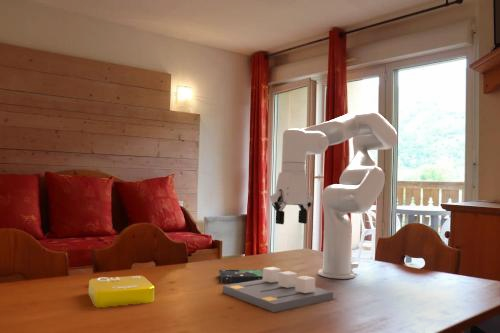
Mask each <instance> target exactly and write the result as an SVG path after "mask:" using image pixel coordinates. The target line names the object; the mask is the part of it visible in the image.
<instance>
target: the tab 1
mask: <svg viewBox="0 0 500 333" xmlns="http://www.w3.org/2000/svg"><path fill="white" fill-rule="evenodd" d="M262 270H263V280H264V281H267V282H270V283H271V282H277V281H278V278H279V272H282V268H280V267H279V268H278V267H276V266H271V267H263V268H262Z"/></svg>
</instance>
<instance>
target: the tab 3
mask: <svg viewBox="0 0 500 333" xmlns="http://www.w3.org/2000/svg"><path fill="white" fill-rule="evenodd" d="M315 287H316V277H313V276H309V275H302V276H297V277H296V285H295V290H296V291H299V292H302V293H309V292H314V291H315Z"/></svg>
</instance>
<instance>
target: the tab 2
mask: <svg viewBox="0 0 500 333" xmlns="http://www.w3.org/2000/svg"><path fill="white" fill-rule="evenodd" d="M296 277H298V273H297V272H294V271H291V270H287V271H281V272H279V278H278V285H280V286H283V287H286V288H288V287H294V286H295V285H296Z"/></svg>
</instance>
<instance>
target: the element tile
mask: <svg viewBox="0 0 500 333" xmlns="http://www.w3.org/2000/svg"><path fill="white" fill-rule="evenodd" d="M89 296H90V297H89ZM88 297H89V299H90V298H91V299H90V300H92V301H91V302H93V303H92V305H93V304H94V305H93V307H95V306H96V307H95V308H100V307H102V308H109V307H108V306H113V307H119V306H118V305H123V306H129V305H128V304H133V305H141V304H140V303H143V304H150V303H149V302H151V303H153V301H155V285H154V284H152V282H150V281H149V280H148V279H147V278H146V277H145V276H143V275H130V276H129V275H128V276H115V277H107V276H106V277H105V276H104V277H103V276H102V277H101V276H100V277H98V278H91V279H90V280H89V281H88Z"/></svg>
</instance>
